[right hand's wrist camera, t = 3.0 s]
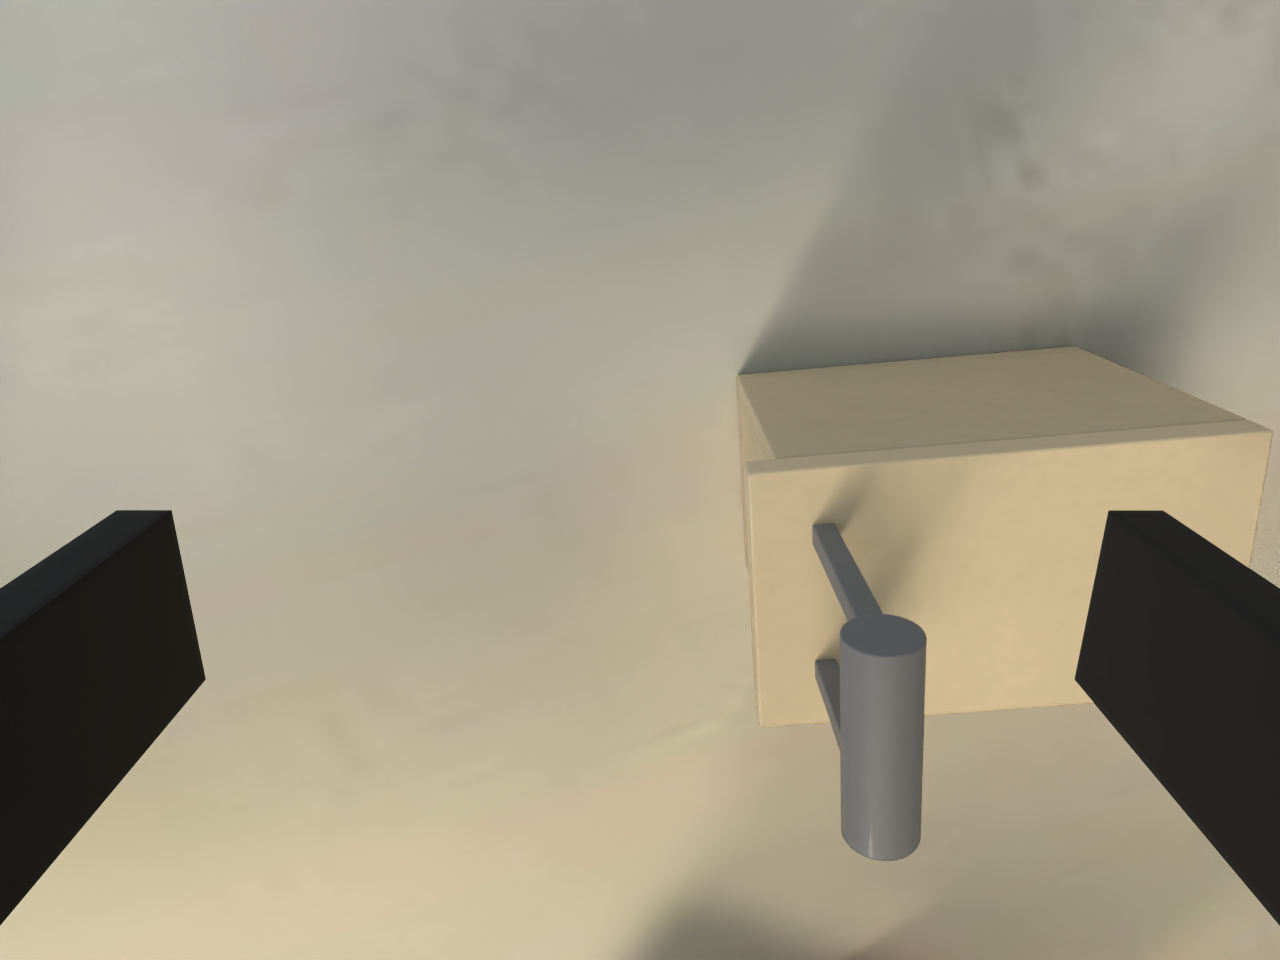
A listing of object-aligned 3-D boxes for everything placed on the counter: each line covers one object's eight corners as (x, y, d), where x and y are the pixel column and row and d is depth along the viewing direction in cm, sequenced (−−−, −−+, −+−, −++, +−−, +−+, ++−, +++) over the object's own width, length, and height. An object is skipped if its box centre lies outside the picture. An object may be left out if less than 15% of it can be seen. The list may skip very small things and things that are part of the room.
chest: (745, 564, 41) (783, 704, 30) (736, 374, 38) (774, 457, 27) (1058, 540, 40) (1206, 673, 30) (1075, 345, 37) (1247, 418, 27)
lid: (755, 707, 30) (800, 920, 22) (743, 460, 27) (791, 596, 19) (1207, 673, 30) (1432, 877, 21) (1248, 418, 27) (1531, 538, 18)
